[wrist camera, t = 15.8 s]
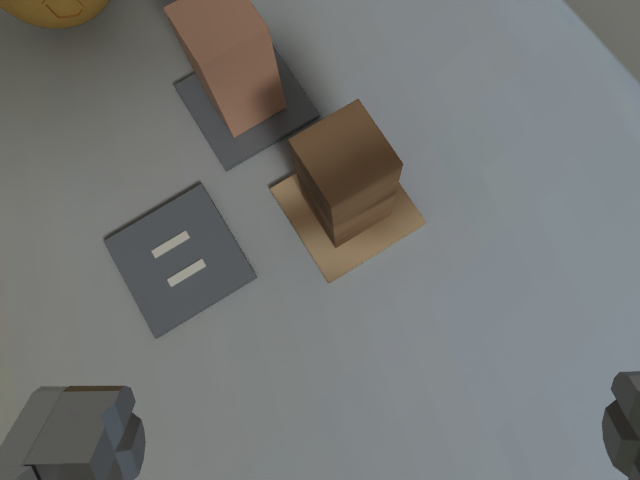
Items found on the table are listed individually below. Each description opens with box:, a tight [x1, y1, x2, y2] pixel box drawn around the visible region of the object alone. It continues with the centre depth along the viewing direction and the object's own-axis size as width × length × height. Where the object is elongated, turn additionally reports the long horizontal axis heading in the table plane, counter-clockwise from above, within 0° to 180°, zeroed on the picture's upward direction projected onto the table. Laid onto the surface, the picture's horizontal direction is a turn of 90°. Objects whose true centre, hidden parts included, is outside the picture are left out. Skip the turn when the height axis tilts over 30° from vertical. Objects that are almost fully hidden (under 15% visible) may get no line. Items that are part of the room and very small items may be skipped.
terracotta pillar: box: [163, 0, 287, 138], centre depth 38 cm, size 4×4×10 cm
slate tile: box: [174, 45, 320, 171], centre depth 43 cm, size 8×8×1 cm
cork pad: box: [270, 173, 426, 283], centre depth 41 cm, size 8×8×1 cm
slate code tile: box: [104, 184, 257, 338], centre depth 41 cm, size 8×8×1 cm
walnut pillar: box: [288, 99, 403, 248], centre depth 36 cm, size 4×4×10 cm
